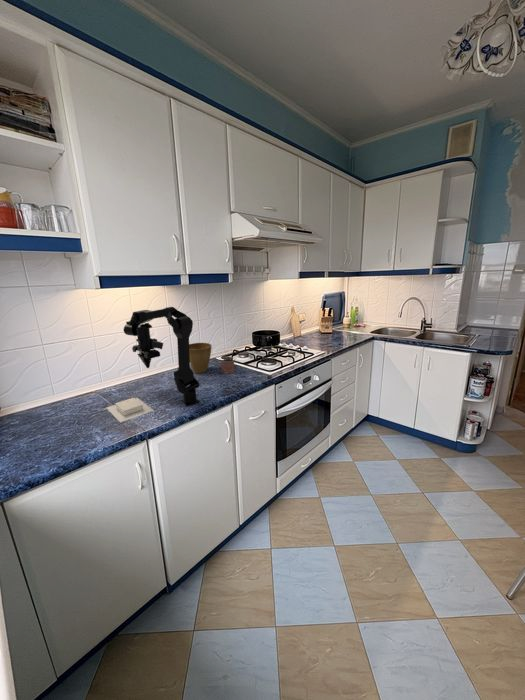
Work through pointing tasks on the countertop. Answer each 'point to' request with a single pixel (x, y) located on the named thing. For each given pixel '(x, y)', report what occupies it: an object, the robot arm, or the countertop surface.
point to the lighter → (227, 365)
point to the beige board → (121, 417)
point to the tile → (129, 406)
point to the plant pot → (199, 356)
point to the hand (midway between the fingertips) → (148, 367)
